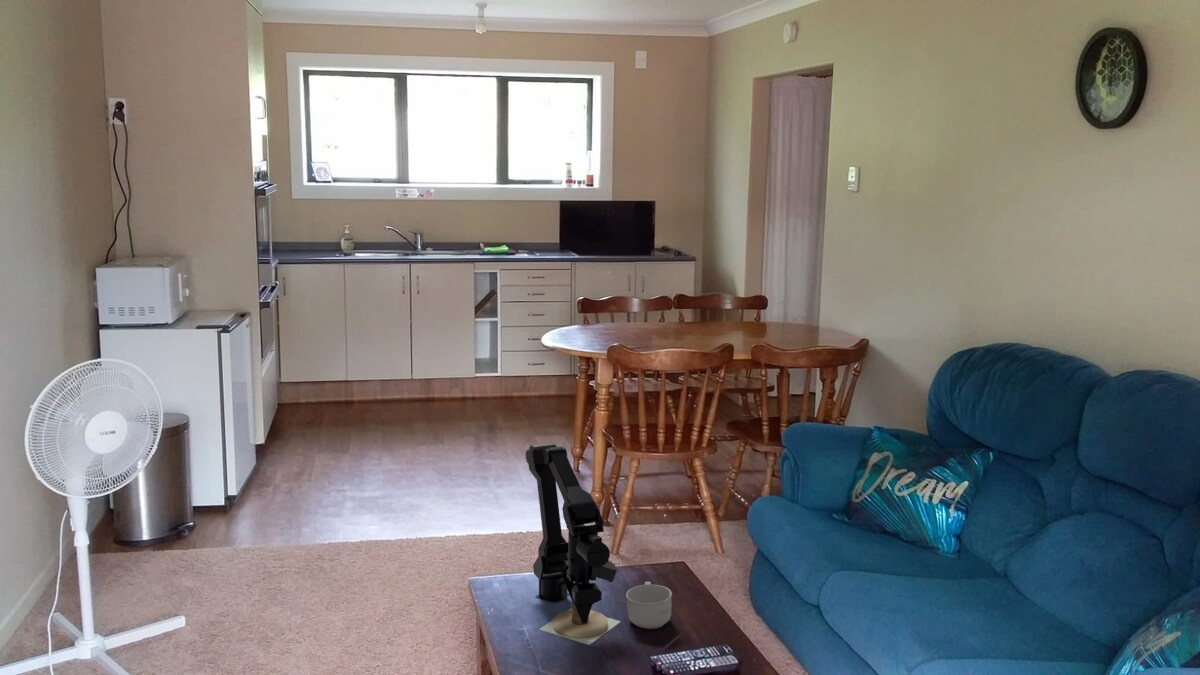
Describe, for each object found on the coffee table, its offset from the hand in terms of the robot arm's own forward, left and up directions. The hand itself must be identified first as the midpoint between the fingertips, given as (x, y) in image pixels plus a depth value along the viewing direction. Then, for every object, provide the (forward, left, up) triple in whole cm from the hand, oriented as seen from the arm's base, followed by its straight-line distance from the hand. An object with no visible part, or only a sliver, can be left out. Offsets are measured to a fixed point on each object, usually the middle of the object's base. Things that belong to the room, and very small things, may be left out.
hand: (580, 614), depth 231 cm
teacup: (+12, +12, -4) cm, 17 cm away
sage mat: (0, 0, -3) cm, 3 cm away
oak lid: (0, 0, -3) cm, 3 cm away
